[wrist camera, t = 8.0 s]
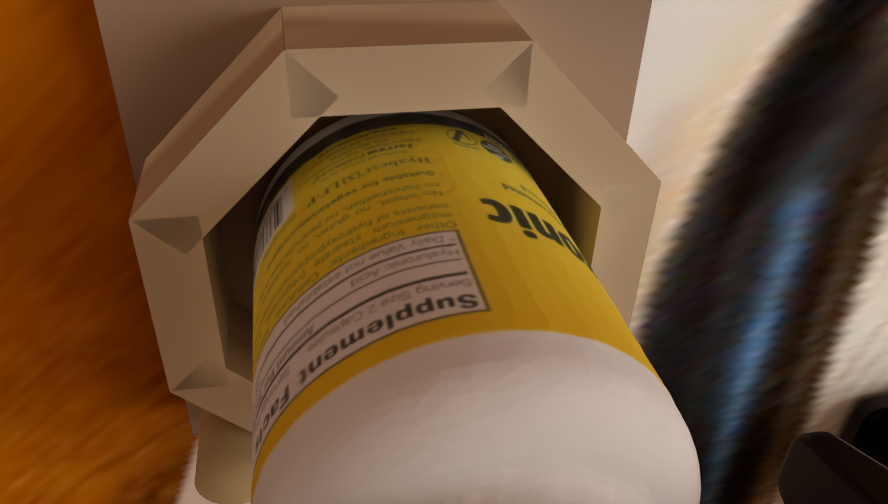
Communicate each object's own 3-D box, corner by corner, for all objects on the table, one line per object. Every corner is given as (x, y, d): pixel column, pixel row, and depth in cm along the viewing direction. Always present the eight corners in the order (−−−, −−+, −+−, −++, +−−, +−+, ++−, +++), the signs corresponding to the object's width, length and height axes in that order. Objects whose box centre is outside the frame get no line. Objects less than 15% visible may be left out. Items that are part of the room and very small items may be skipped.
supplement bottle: (568, 264, 16) (872, 793, 8) (340, 370, 16) (411, 974, 8) (474, 39, 13) (824, 542, 5) (194, 178, 13) (85, 857, 5)
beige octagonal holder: (567, 359, 19) (619, 466, 16) (196, 402, 17) (183, 528, 15) (636, -62, 13) (733, -10, 11) (96, -57, 12) (45, 7, 9)
